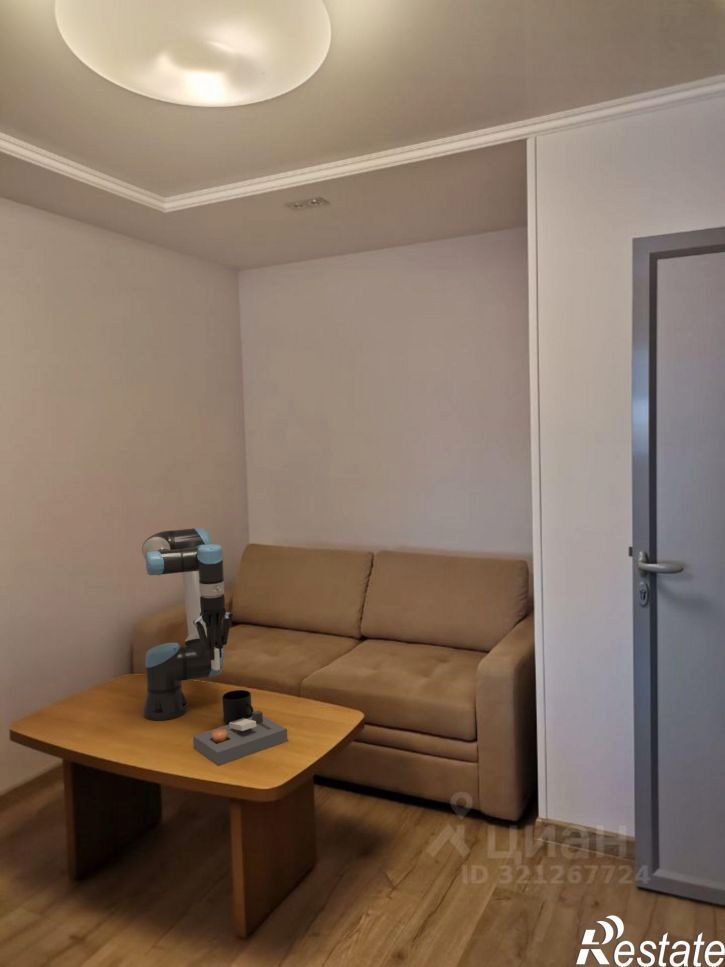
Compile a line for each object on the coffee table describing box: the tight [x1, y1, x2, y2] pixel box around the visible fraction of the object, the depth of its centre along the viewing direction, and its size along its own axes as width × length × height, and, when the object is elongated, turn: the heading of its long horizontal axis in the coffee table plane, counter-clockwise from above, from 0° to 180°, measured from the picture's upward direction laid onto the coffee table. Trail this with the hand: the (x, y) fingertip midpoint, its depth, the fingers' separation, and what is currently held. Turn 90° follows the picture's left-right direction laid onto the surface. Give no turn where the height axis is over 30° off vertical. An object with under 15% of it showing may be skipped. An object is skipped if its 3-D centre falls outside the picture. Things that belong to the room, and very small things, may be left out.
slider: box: [252, 710, 264, 723], centre depth 234 cm, size 2×2×3 cm
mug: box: [221, 689, 254, 726], centre depth 245 cm, size 9×12×9 cm
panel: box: [192, 715, 288, 767], centre depth 227 cm, size 16×24×5 cm, turn 129°
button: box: [212, 729, 227, 744], centre depth 222 cm, size 4×4×6 cm
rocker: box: [229, 718, 256, 731], centre depth 227 cm, size 8×5×2 cm, turn 38°
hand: (215, 668), depth 229 cm, fingers closed
